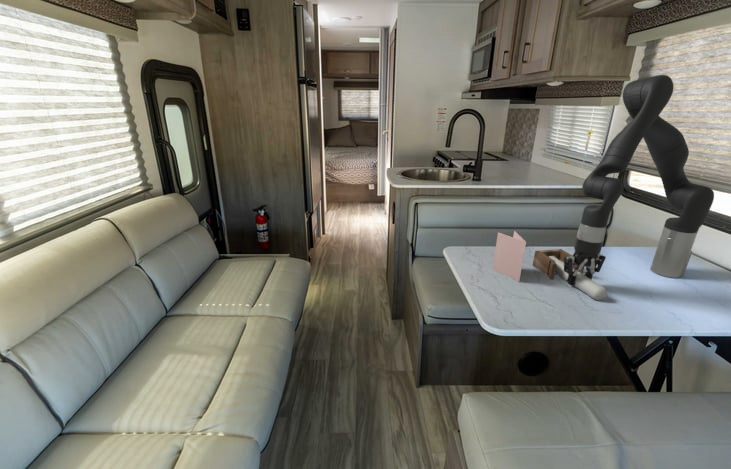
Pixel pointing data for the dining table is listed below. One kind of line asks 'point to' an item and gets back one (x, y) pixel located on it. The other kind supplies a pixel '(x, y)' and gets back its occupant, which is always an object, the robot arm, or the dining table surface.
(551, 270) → the socket block
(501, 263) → the greeting card
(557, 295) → the dining table surface
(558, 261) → the tube
